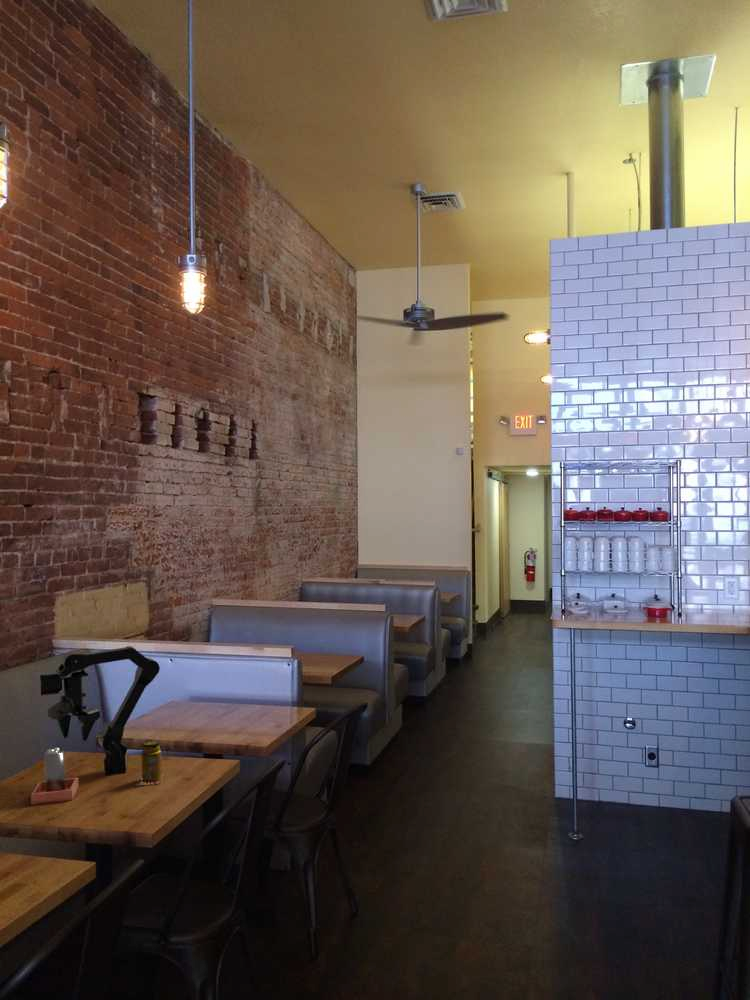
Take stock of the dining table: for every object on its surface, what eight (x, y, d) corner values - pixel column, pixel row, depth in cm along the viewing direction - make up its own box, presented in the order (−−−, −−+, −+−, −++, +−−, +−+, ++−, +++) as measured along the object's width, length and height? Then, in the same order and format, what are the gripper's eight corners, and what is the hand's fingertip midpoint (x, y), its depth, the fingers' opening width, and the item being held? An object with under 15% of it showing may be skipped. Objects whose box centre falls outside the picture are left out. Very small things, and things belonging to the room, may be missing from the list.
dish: (78, 787, 247) (78, 777, 247) (72, 800, 236) (72, 790, 236) (39, 791, 245) (39, 781, 245) (31, 804, 234) (31, 794, 234)
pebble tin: (69, 790, 242) (67, 746, 243) (57, 797, 237) (56, 751, 237) (54, 789, 244) (52, 745, 244) (42, 796, 239) (40, 750, 239)
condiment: (165, 775, 255) (164, 739, 255) (159, 785, 246) (157, 746, 246) (143, 777, 254) (141, 740, 255) (135, 786, 246) (134, 748, 246)
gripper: (33, 694, 253) (34, 743, 253) (72, 699, 244) (73, 749, 244) (62, 687, 263) (63, 733, 262) (100, 691, 253) (102, 739, 253)
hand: (75, 739), depth 255 cm, fingers open, 9 cm apart
